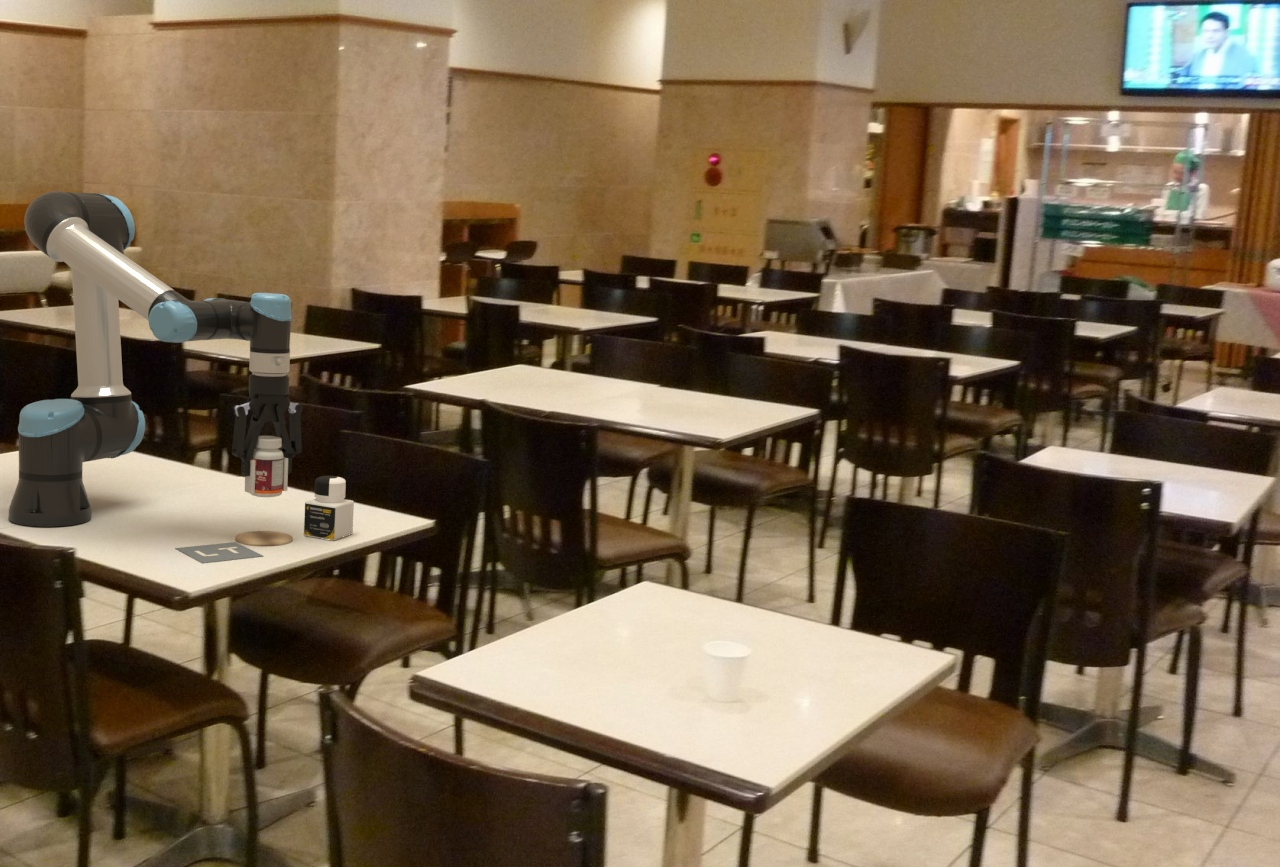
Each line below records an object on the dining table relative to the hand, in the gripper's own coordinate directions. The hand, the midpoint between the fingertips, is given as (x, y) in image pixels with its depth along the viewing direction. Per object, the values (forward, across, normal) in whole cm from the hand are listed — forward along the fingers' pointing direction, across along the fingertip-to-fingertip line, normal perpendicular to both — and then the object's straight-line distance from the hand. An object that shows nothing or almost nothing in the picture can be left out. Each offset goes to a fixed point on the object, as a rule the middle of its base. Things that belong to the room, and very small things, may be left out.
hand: (266, 490), depth 269 cm
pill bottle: (+1, 0, 0) cm, 1 cm away
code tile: (+10, -12, -6) cm, 17 cm away
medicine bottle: (+10, +13, -2) cm, 16 cm away
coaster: (+10, 0, 0) cm, 10 cm away
